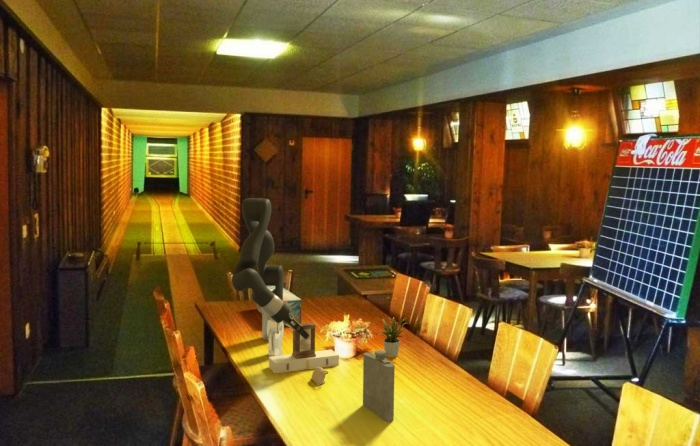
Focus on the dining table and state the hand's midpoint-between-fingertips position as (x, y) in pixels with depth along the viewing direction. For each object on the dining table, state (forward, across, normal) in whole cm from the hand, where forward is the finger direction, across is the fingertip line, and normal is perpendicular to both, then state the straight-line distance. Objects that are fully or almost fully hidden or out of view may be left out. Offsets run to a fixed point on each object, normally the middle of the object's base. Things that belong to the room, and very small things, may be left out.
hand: (303, 334), depth 246 cm
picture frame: (+6, 0, +6) cm, 9 cm away
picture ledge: (+9, 0, +9) cm, 13 cm away
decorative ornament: (+9, -19, +10) cm, 23 cm away
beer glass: (+5, +18, +13) cm, 23 cm away
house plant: (+37, -1, -19) cm, 42 cm away
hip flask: (+14, -52, +4) cm, 54 cm away
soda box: (+20, +80, -1) cm, 82 cm away
